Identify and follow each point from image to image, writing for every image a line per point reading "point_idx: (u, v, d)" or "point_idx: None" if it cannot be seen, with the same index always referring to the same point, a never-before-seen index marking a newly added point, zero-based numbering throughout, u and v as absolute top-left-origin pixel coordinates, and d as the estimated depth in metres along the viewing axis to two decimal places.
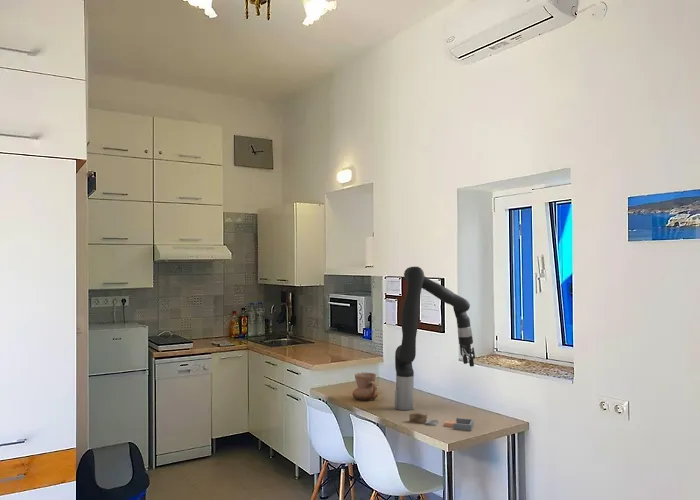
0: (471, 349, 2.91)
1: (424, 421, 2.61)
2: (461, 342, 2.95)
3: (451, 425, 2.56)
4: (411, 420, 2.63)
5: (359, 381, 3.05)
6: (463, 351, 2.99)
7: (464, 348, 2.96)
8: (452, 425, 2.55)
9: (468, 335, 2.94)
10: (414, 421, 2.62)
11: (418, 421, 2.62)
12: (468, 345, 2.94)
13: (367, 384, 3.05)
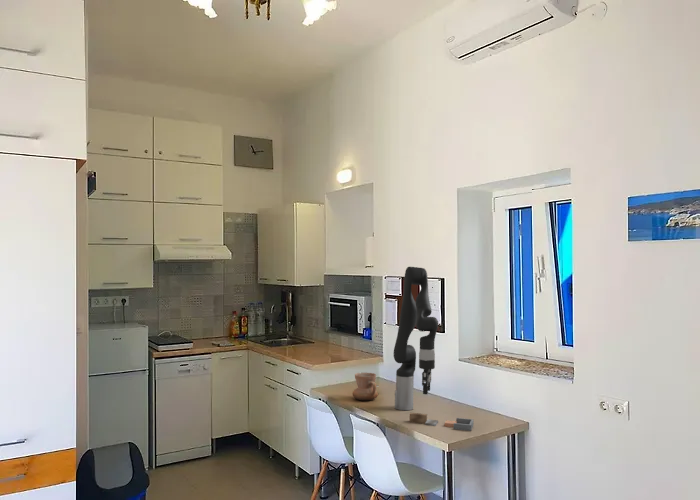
0: (424, 374, 2.57)
1: (424, 421, 2.61)
2: (419, 365, 2.63)
3: (451, 425, 2.56)
4: (411, 420, 2.63)
5: (359, 381, 3.05)
6: None
7: (422, 372, 2.63)
8: (452, 425, 2.55)
9: (426, 358, 2.60)
10: (414, 421, 2.62)
11: (418, 421, 2.62)
12: (425, 370, 2.60)
13: (367, 384, 3.05)
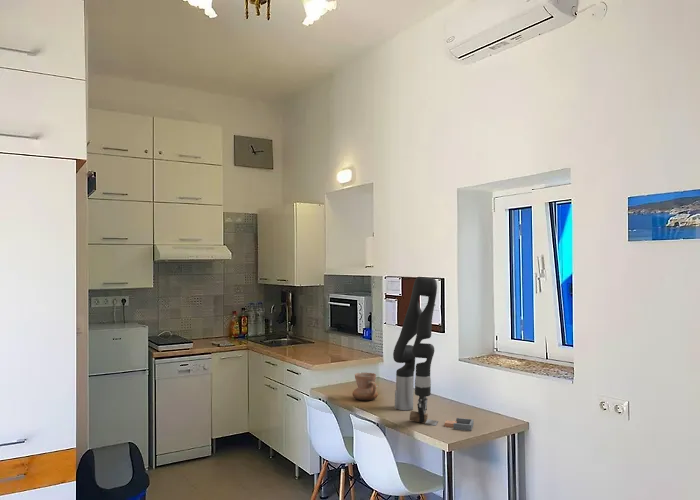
0: (419, 406, 2.57)
1: (424, 421, 2.61)
2: (415, 392, 2.62)
3: (451, 425, 2.56)
4: (411, 418, 2.63)
5: (359, 381, 3.05)
6: None
7: (418, 400, 2.62)
8: (452, 425, 2.55)
9: (422, 386, 2.59)
10: (414, 420, 2.62)
11: (418, 420, 2.62)
12: (420, 397, 2.59)
13: (367, 384, 3.05)
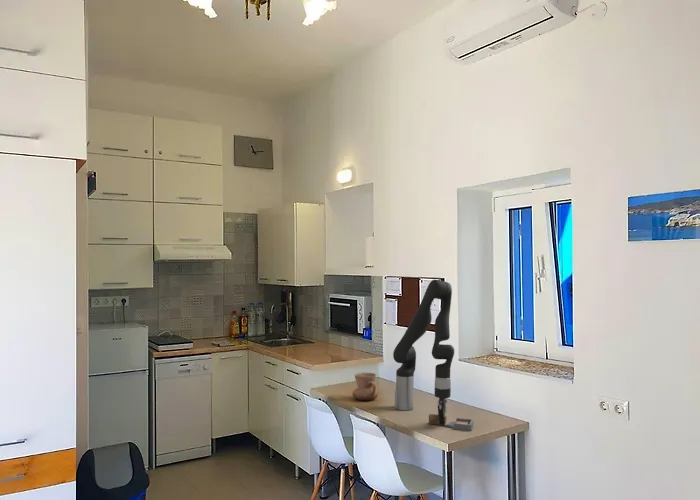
0: (440, 408, 2.54)
1: None
2: (435, 393, 2.59)
3: None
4: (430, 421, 2.60)
5: (359, 381, 3.05)
6: None
7: None
8: None
9: (442, 387, 2.56)
10: (433, 422, 2.59)
11: (438, 422, 2.59)
12: (440, 399, 2.56)
13: (367, 384, 3.05)
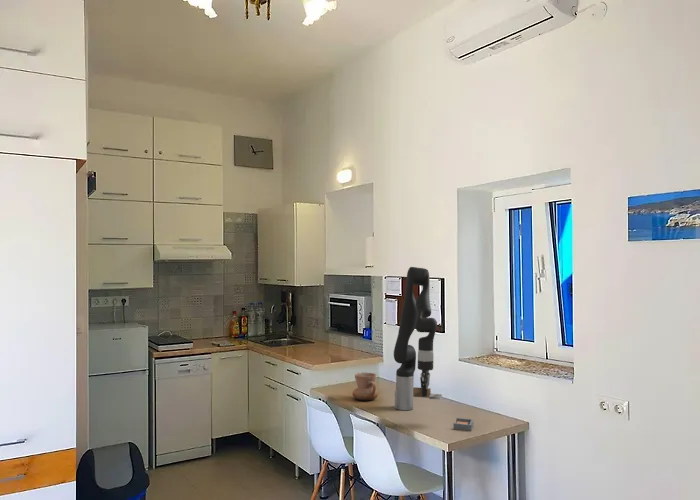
0: (422, 379, 2.57)
1: (428, 395, 2.61)
2: (418, 366, 2.63)
3: None
4: (415, 394, 2.63)
5: (359, 381, 3.05)
6: None
7: None
8: None
9: (425, 360, 2.60)
10: (418, 395, 2.62)
11: None
12: (423, 371, 2.60)
13: (367, 384, 3.05)
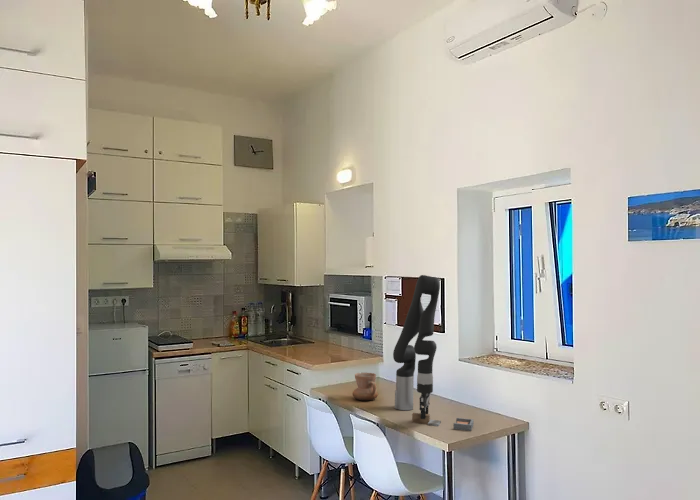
0: (421, 400, 2.56)
1: (427, 421, 2.60)
2: (417, 388, 2.62)
3: None
4: (414, 420, 2.62)
5: (359, 381, 3.05)
6: None
7: (420, 396, 2.62)
8: None
9: (424, 383, 2.59)
10: (417, 421, 2.62)
11: (421, 421, 2.61)
12: (422, 394, 2.59)
13: (367, 384, 3.05)
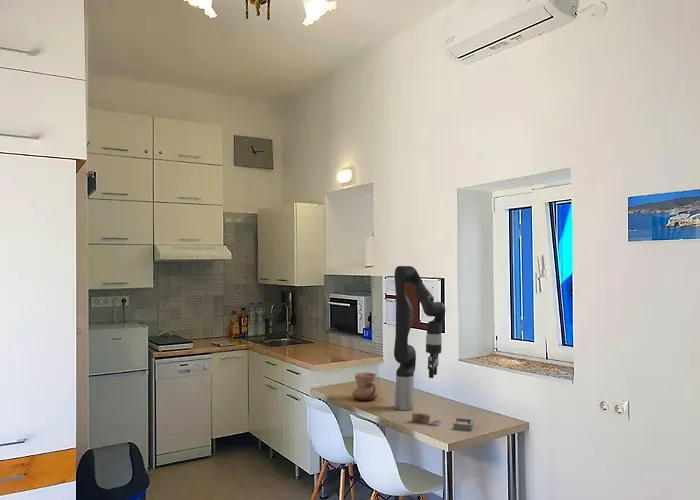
0: (430, 358, 2.61)
1: (427, 421, 2.60)
2: (426, 349, 2.67)
3: None
4: (414, 420, 2.62)
5: (359, 381, 3.05)
6: None
7: None
8: None
9: (433, 343, 2.64)
10: (417, 421, 2.62)
11: (421, 421, 2.61)
12: (431, 354, 2.64)
13: (367, 384, 3.05)
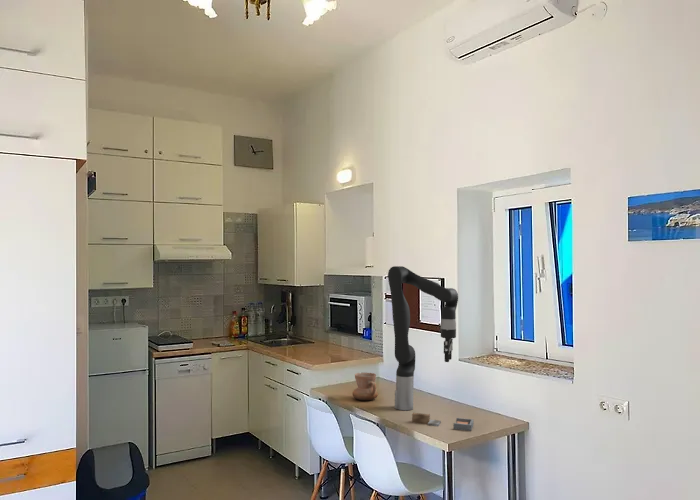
0: (446, 343, 2.68)
1: (427, 421, 2.60)
2: (441, 334, 2.74)
3: None
4: (414, 420, 2.62)
5: (359, 381, 3.05)
6: None
7: None
8: None
9: (448, 328, 2.71)
10: (417, 421, 2.62)
11: (421, 421, 2.61)
12: (446, 338, 2.71)
13: (367, 384, 3.05)
